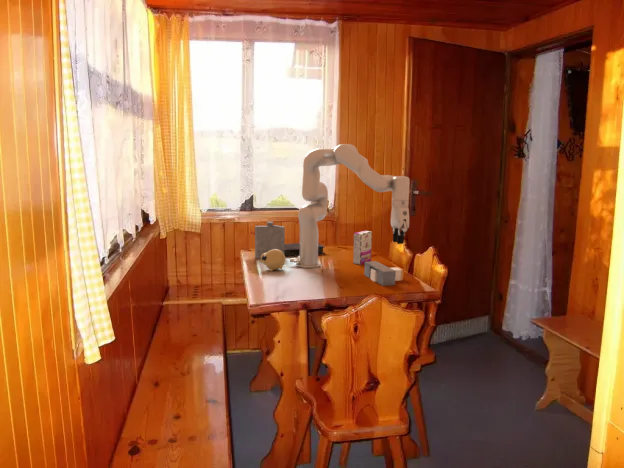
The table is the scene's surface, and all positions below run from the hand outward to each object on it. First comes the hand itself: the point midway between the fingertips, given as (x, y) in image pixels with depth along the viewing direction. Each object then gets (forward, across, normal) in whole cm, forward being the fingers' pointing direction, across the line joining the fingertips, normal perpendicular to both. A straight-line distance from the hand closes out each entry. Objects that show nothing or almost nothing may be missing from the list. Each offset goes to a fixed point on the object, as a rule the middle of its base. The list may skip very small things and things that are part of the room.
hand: (398, 242), depth 235 cm
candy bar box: (+18, +35, +2) cm, 39 cm away
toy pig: (+18, +30, +52) cm, 63 cm away
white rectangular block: (+17, 0, +6) cm, 18 cm away
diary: (+18, +67, +27) cm, 74 cm away
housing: (+17, 0, +9) cm, 19 cm away
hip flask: (+17, +57, +47) cm, 76 cm away
